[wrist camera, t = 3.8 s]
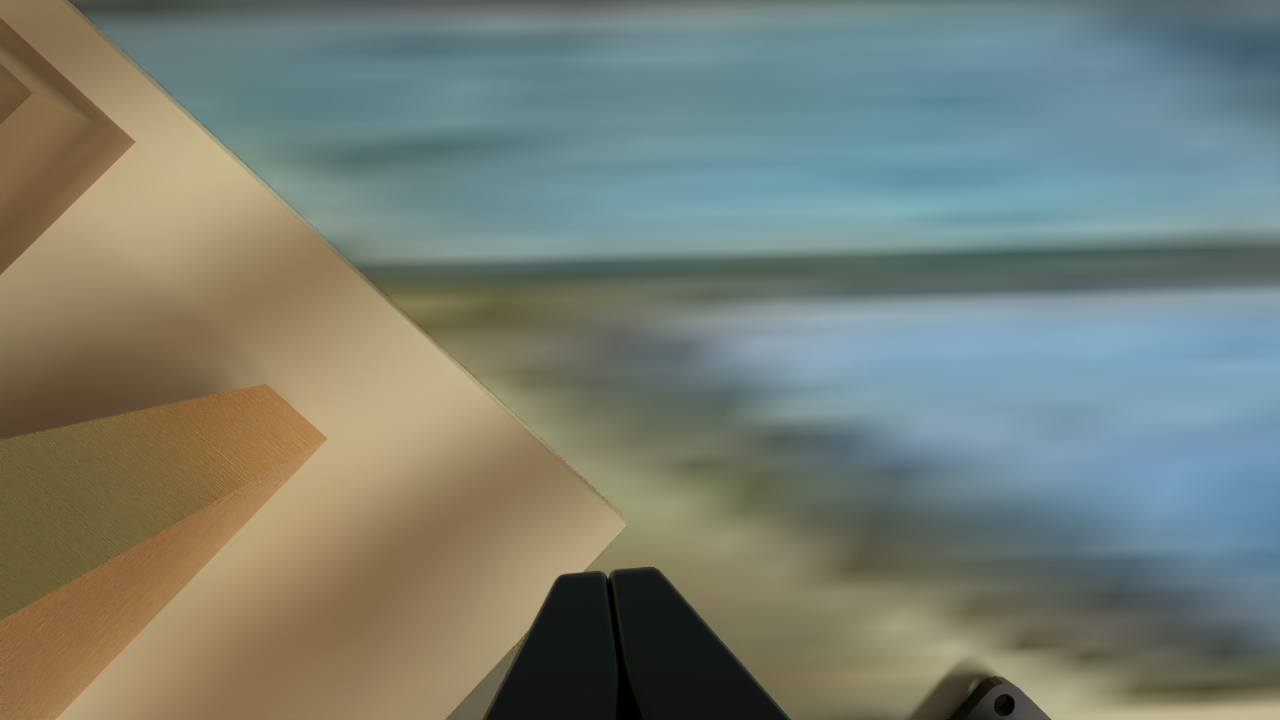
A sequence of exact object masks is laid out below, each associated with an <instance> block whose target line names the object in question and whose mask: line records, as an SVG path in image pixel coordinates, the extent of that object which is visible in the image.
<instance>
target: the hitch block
mask: <svg viewBox="0 0 1280 720" xmlns="http://www.w3.org/2000/svg"><path fill="white" fill-rule="evenodd" d="M261 384H267V385H268V386H270V387H271V388H272V389H273V390H274V391H275V392H276V393H277V394H278V395H280V396H281V397H282V398H283V399H284V400H285V401H286V402H287V403H289V404H290V405H291V406H292V407H293V408H294V409H295V410H296V411H297V412H299V413H300V414H301V415H302V416H303V417H304V418H305V419H306V420H308V421H309V422H310V423H311V424H312V425H313V426H314V427H315V428H316V429H318V430H319V431H320V432H321V433H322V434H323V435H324V436H325V437H327V438H328V439H327V440H326V441H325V442H324V443H323V444H322V445H321V446H320V447H319V449H318V450H317V451H316V452H315V453H314V454H313V455H312V456H311V457H310V458H309V459H308V460H307V461H306V462H305V463H304V464H303V465H302V466H301V467H300V468H299V469H298V470H297V471H296V472H295V473H294V474H293V475H292V476H291V477H290V478H289V479H288V480H287V482H286V483H285V484H284V485H283V486H282V487H281V488H280V489H279V490H278V491H277V492H276V493H275V494H274V495H273V496H272V497H271V498H270V499H269V500H268V501H267V502H266V503H265V504H264V505H263V506H262V507H261V508H260V509H259V510H258V511H257V512H256V513H255V515H254V516H253V517H252V518H251V519H250V520H249V521H248V522H247V523H246V524H245V525H244V526H243V527H242V528H241V529H240V530H239V531H238V532H237V533H236V534H235V535H234V536H233V537H232V538H231V539H230V540H229V541H228V542H227V543H226V544H225V545H224V546H223V548H222V549H221V550H220V551H219V552H218V553H217V554H216V555H215V556H214V557H213V558H212V559H211V560H210V561H209V562H208V563H207V564H206V565H205V566H204V567H203V568H202V569H201V570H200V571H199V572H198V573H197V574H196V575H195V576H194V577H193V578H192V579H191V581H190V582H189V583H188V584H187V585H186V586H185V587H184V588H183V589H182V590H181V591H180V592H179V593H178V594H177V595H176V596H175V597H174V598H173V599H172V600H171V601H170V602H169V603H168V604H167V605H166V606H165V607H164V608H163V609H162V610H161V611H160V612H159V614H158V615H157V616H156V617H155V618H154V619H153V620H152V621H151V622H150V623H149V624H148V625H147V626H146V627H145V628H144V629H143V630H142V631H141V632H140V633H139V634H138V635H137V636H136V637H135V638H134V639H133V640H132V641H131V642H130V643H129V644H128V645H127V647H126V648H125V649H124V650H123V651H122V652H121V653H120V654H119V655H118V656H117V657H116V658H115V659H114V660H113V661H112V662H111V663H110V664H109V665H108V666H107V667H106V668H105V669H104V670H103V671H102V672H101V673H100V674H99V675H98V676H97V677H96V678H95V680H94V681H93V682H92V683H91V684H90V685H89V686H88V687H87V688H86V689H85V690H84V691H83V692H82V693H81V694H80V695H79V696H78V697H77V698H76V699H75V700H74V701H73V702H72V703H71V704H70V705H69V706H68V707H67V708H66V709H65V710H64V711H63V713H62V714H61V715H60V716H59V717H58V718H57V719H56V720H445V719H446V718H447V717H448V716H449V715H450V714H451V713H452V712H453V711H454V710H455V709H456V708H457V706H458V705H459V704H460V703H461V702H462V701H463V700H464V699H465V698H466V697H467V696H468V695H469V694H470V693H471V691H472V690H473V689H474V688H475V687H476V686H477V685H478V684H479V683H480V682H481V681H482V680H483V679H484V678H485V676H486V675H487V674H488V673H489V672H490V671H491V670H492V669H493V668H494V667H495V666H496V665H497V664H498V663H499V661H500V660H501V659H502V658H503V657H504V656H505V655H506V654H507V653H508V652H509V651H510V650H511V649H512V648H513V646H514V645H515V644H516V643H517V642H518V641H519V640H520V639H521V638H522V637H523V636H524V635H525V634H526V633H527V631H528V630H529V629H530V627H531V625H532V623H533V621H534V619H535V617H536V616H537V614H538V612H539V610H540V608H541V606H542V604H543V602H544V600H545V598H546V596H547V594H548V592H549V590H550V589H551V587H552V585H553V583H554V581H555V580H556V578H557V577H558V576H560V575H562V574H568V573H580V572H583V571H584V570H585V569H586V568H587V567H588V566H589V565H590V564H591V563H592V562H593V561H594V560H595V559H596V558H597V556H598V555H599V554H600V553H601V552H602V551H603V550H604V549H605V548H606V547H607V546H608V545H609V544H610V543H611V542H612V540H613V539H614V538H615V537H616V536H617V535H618V534H619V533H620V532H621V531H622V530H623V529H624V528H625V527H626V525H627V524H626V522H625V520H624V518H623V516H622V514H620V513H619V512H618V511H617V510H616V509H615V508H614V507H613V506H612V505H611V504H610V503H609V502H608V501H606V500H605V499H604V498H603V497H602V496H601V495H600V494H599V493H598V492H597V491H596V490H595V489H594V488H592V487H591V486H590V485H589V484H588V483H587V482H586V481H585V480H584V479H583V478H582V477H581V476H580V475H578V474H577V473H576V472H575V471H574V470H573V469H572V468H571V467H570V466H569V465H568V464H567V463H566V462H564V461H563V460H562V459H561V458H560V457H559V456H558V455H557V454H556V453H555V452H554V451H553V450H552V449H550V448H549V447H548V446H547V445H546V444H545V443H544V442H543V441H542V440H541V439H540V438H539V437H538V436H536V435H535V434H534V433H533V432H532V431H531V430H530V429H529V428H528V427H527V426H526V425H525V424H524V423H522V422H521V421H520V420H519V419H518V418H517V417H516V416H515V415H514V414H513V413H512V412H511V411H510V410H508V409H507V408H506V407H505V406H504V405H503V404H502V403H501V402H500V401H499V400H498V399H497V398H496V397H494V396H493V395H492V394H491V393H490V392H489V391H488V390H487V389H486V388H485V387H484V386H483V385H482V384H481V383H479V382H478V381H477V380H476V379H475V378H474V377H473V376H472V375H471V374H470V373H469V372H468V371H467V370H465V369H464V368H463V367H462V366H461V365H460V364H459V363H458V362H457V361H456V360H455V359H454V358H453V357H451V356H450V355H449V354H448V353H447V352H446V351H445V350H444V349H443V348H442V347H441V346H440V345H439V344H437V343H436V342H435V341H434V340H433V339H432V338H431V337H430V336H429V335H428V334H427V333H426V332H425V331H423V330H422V329H421V328H420V327H419V326H418V325H417V324H416V323H415V322H414V321H413V320H412V319H411V318H409V317H408V316H407V315H406V314H405V313H404V312H403V311H402V310H401V309H400V308H399V307H398V306H397V305H395V304H394V303H393V302H392V301H391V300H390V299H389V298H388V297H387V296H386V295H385V294H384V293H383V292H381V291H380V290H379V289H378V288H377V287H376V286H375V285H374V284H373V283H372V282H371V281H370V280H369V279H367V278H366V277H365V276H364V275H363V274H362V273H361V272H360V271H359V270H358V269H357V268H356V267H355V266H353V265H352V264H351V263H350V262H349V261H348V260H347V259H346V258H345V257H344V256H343V255H342V254H341V253H339V252H338V251H337V250H336V249H335V248H334V247H333V246H332V245H331V244H330V243H329V242H328V241H327V240H326V239H324V238H323V237H322V236H321V235H320V234H319V233H318V232H317V231H316V230H315V229H314V228H313V227H312V226H310V225H309V224H308V223H307V222H306V221H305V220H304V219H303V218H302V217H301V216H300V215H299V214H298V213H296V212H295V211H294V210H293V209H292V208H291V207H290V206H289V205H288V204H287V203H286V202H285V201H284V200H282V199H281V198H280V197H279V196H278V195H277V194H276V193H275V192H274V191H273V190H272V189H271V188H270V187H268V186H267V185H266V184H265V183H264V182H263V181H262V180H261V179H260V178H259V177H258V176H257V175H256V174H254V173H253V172H252V171H251V170H250V169H249V168H248V167H247V166H246V165H245V164H244V163H243V162H242V161H240V160H239V159H238V158H237V157H236V156H235V155H234V154H233V153H232V152H231V151H230V150H229V149H228V148H226V147H225V146H224V145H223V144H222V143H221V142H220V141H219V140H218V139H217V138H216V137H215V136H214V135H212V134H211V133H210V132H209V131H208V130H207V129H206V128H205V127H204V126H203V125H202V124H201V123H200V122H198V121H197V120H196V119H195V118H194V117H193V116H192V115H191V114H190V113H189V112H188V111H187V110H186V109H185V108H183V107H182V106H181V105H180V104H179V103H178V102H177V101H176V100H175V99H174V98H173V97H172V96H171V95H169V94H168V93H167V92H166V91H165V90H164V89H163V88H162V87H161V86H160V85H159V84H158V83H157V82H155V81H154V80H153V79H152V78H151V77H150V76H149V75H148V74H147V73H146V72H145V71H144V70H143V69H141V68H140V67H139V66H138V65H137V64H136V63H135V62H134V61H133V60H132V59H131V58H130V57H129V56H127V55H126V54H125V53H124V52H123V51H122V50H121V49H120V48H119V47H118V46H117V45H116V44H115V43H113V42H112V41H111V40H110V39H109V38H108V37H107V36H106V35H105V34H104V33H103V32H102V31H101V30H99V29H98V28H97V27H96V26H95V25H94V24H93V23H92V22H91V21H90V20H89V19H88V18H87V17H85V16H84V15H83V14H82V13H81V12H80V11H79V10H78V9H77V8H76V7H75V6H74V5H73V4H71V3H70V2H69V1H68V0H0V440H3V439H7V438H12V437H17V436H21V435H26V434H31V433H36V432H40V431H45V430H50V429H54V428H59V427H64V426H68V425H73V424H78V423H83V422H87V421H92V420H97V419H101V418H106V417H111V416H115V415H120V414H125V413H130V412H134V411H139V410H144V409H148V408H153V407H158V406H163V405H167V404H172V403H177V402H181V401H186V400H191V399H195V398H200V397H205V396H210V395H214V394H219V393H224V392H228V391H233V390H238V389H242V388H247V387H252V386H257V385H261Z"/></svg>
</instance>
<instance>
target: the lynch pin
mask: <svg viewBox="0 0 1280 720" xmlns="http://www.w3.org/2000/svg"><path fill="white" fill-rule="evenodd" d="M327 439H328V438H327V437H325V436H324V435H323V434H322V433H321V432H320V431H319V430H318V429H316V428H315V427H314V426H313V425H312V424H311V423H310V422H309V421H308V420H306V419H305V418H304V417H303V416H302V415H301V414H300V413H299V412H297V411H296V410H295V409H294V408H293V407H292V406H291V405H290V404H289V403H287V402H286V401H285V400H284V399H283V398H282V397H281V396H280V395H278V394H277V393H276V392H275V391H274V390H273V389H272V388H271V387H270V386H268V385H267V384H261V385H257V386H252V387H247V388H242V389H238V390H233V391H228V392H224V393H219V394H214V395H210V396H205V397H200V398H195V399H191V400H186V401H181V402H177V403H172V404H167V405H163V406H158V407H153V408H148V409H144V410H139V411H134V412H130V413H125V414H120V415H115V416H111V417H106V418H101V419H97V420H92V421H87V422H83V423H78V424H73V425H68V426H64V427H59V428H54V429H50V430H45V431H40V432H36V433H31V434H26V435H21V436H17V437H12V438H7V439H3V440H0V720H56V719H57V718H58V717H59V716H60V715H61V714H62V713H63V711H64V710H65V709H66V708H67V707H68V706H69V705H70V704H71V703H72V702H73V701H74V700H75V699H76V698H77V697H78V696H79V695H80V694H81V693H82V692H83V691H84V690H85V689H86V688H87V687H88V686H89V685H90V684H91V683H92V682H93V681H94V680H95V678H96V677H97V676H98V675H99V674H100V673H101V672H102V671H103V670H104V669H105V668H106V667H107V666H108V665H109V664H110V663H111V662H112V661H113V660H114V659H115V658H116V657H117V656H118V655H119V654H120V653H121V652H122V651H123V650H124V649H125V648H126V647H127V645H128V644H129V643H130V642H131V641H132V640H133V639H134V638H135V637H136V636H137V635H138V634H139V633H140V632H141V631H142V630H143V629H144V628H145V627H146V626H147V625H148V624H149V623H150V622H151V621H152V620H153V619H154V618H155V617H156V616H157V615H158V614H159V612H160V611H161V610H162V609H163V608H164V607H165V606H166V605H167V604H168V603H169V602H170V601H171V600H172V599H173V598H174V597H175V596H176V595H177V594H178V593H179V592H180V591H181V590H182V589H183V588H184V587H185V586H186V585H187V584H188V583H189V582H190V581H191V579H192V578H193V577H194V576H195V575H196V574H197V573H198V572H199V571H200V570H201V569H202V568H203V567H204V566H205V565H206V564H207V563H208V562H209V561H210V560H211V559H212V558H213V557H214V556H215V555H216V554H217V553H218V552H219V551H220V550H221V549H222V548H223V546H224V545H225V544H226V543H227V542H228V541H229V540H230V539H231V538H232V537H233V536H234V535H235V534H236V533H237V532H238V531H239V530H240V529H241V528H242V527H243V526H244V525H245V524H246V523H247V522H248V521H249V520H250V519H251V518H252V517H253V516H254V515H255V513H256V512H257V511H258V510H259V509H260V508H261V507H262V506H263V505H264V504H265V503H266V502H267V501H268V500H269V499H270V498H271V497H272V496H273V495H274V494H275V493H276V492H277V491H278V490H279V489H280V488H281V487H282V486H283V485H284V484H285V483H286V482H287V480H288V479H289V478H290V477H291V476H292V475H293V474H294V473H295V472H296V471H297V470H298V469H299V468H300V467H301V466H302V465H303V464H304V463H305V462H306V461H307V460H308V459H309V458H310V457H311V456H312V455H313V454H314V453H315V452H316V451H317V450H318V449H319V447H320V446H321V445H322V444H323V443H324V442H325V441H326V440H327Z"/></svg>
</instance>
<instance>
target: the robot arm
mask: <svg viewBox="0 0 1280 720" xmlns="http://www.w3.org/2000/svg"><path fill="white" fill-rule="evenodd" d="M1001 694H1005V702H1004V703H1003V705H1002V706H1001V707H999V708H995V709H994V702H995V700H996V698H997V697H998V696H1000V695H1001ZM483 720H791V719H790V718H789V717H788V716H787V715H786V714H785V713H784V711H783V710H782V709H781V708H780V707H779V706H778V705H777V703H776V702H775V701H774V700H773V699H772V698H771V697H770V695H769V694H768V693H767V692H766V691H765V690H764V689H763V688H762V686H761V685H760V684H759V683H758V682H757V681H756V680H755V678H754V677H753V676H752V675H751V674H750V673H749V672H748V670H747V669H746V668H745V667H744V666H743V665H742V664H741V662H740V661H739V660H738V659H737V658H736V657H735V656H734V654H733V653H732V652H731V651H730V650H729V649H728V648H727V647H726V645H725V644H724V643H723V642H722V641H721V640H720V639H719V637H718V636H717V635H716V634H715V633H714V632H713V631H712V629H711V628H710V627H709V626H708V625H707V624H706V623H705V621H704V620H703V619H702V618H701V617H700V616H699V615H698V613H697V612H696V611H695V610H694V609H693V608H692V607H691V606H690V604H689V603H688V602H687V601H686V600H685V599H684V598H683V596H682V595H681V594H680V593H679V592H678V591H677V590H676V588H675V587H674V586H673V585H672V584H671V583H670V582H669V580H668V579H667V578H666V577H665V576H664V575H663V574H662V573H661V571H660V570H658V569H656V568H654V567H642V568H630V569H617V570H614V571H612V572H611V573H610V575H609V577H608V579H607V576H606V575H605V573H603V572H601V571H593V572H580V573H568V574H562V575H560V576H558V577H557V578H556V580H555V581H554V583H553V585H552V587H551V589H550V590H549V592H548V594H547V596H546V598H545V600H544V602H543V604H542V606H541V608H540V610H539V612H538V614H537V616H536V617H535V619H534V621H533V623H532V625H531V627H530V629H529V631H528V633H527V635H526V637H525V639H524V641H523V643H522V644H521V646H520V648H519V650H518V652H517V654H516V656H515V658H514V660H513V662H512V664H511V666H510V668H509V670H508V671H507V673H506V675H505V677H504V679H503V681H502V683H501V685H500V687H499V689H498V691H497V693H496V695H495V697H494V698H493V700H492V702H491V704H490V706H489V708H488V710H487V712H486V714H485V716H484V718H483ZM949 720H1051V719H1050V718H1049V717H1048V716H1047V715H1046V714H1045V713H1044V712H1043V711H1042V710H1041V709H1040V708H1039V707H1038V706H1037V705H1036V704H1035V703H1034V702H1033V701H1032V700H1031V699H1029V698H1028V697H1027V696H1026V695H1025V694H1024V693H1023V692H1022V691H1021V690H1020V689H1019V688H1018V687H1016V686H1015V685H1014V684H1012V683H1011V682H1010V681H1008V680H1006V679H1005V678H1003V677H997V676H994V677H991V678H987V679H986V680H985V681H983V682H982V683H981V684H980V685H979V686H978V687H977V688H976V689H975V690H974V692H973V693H972V694H971V695H970V696H969V697H968V698H967V699H966V701H965V702H964V703H963V704H962V705H961V706H960V707H959V708H958V710H957V711H956V712H955V713H954V714H953V715H952V716H951V717H950V719H949Z"/></svg>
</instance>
